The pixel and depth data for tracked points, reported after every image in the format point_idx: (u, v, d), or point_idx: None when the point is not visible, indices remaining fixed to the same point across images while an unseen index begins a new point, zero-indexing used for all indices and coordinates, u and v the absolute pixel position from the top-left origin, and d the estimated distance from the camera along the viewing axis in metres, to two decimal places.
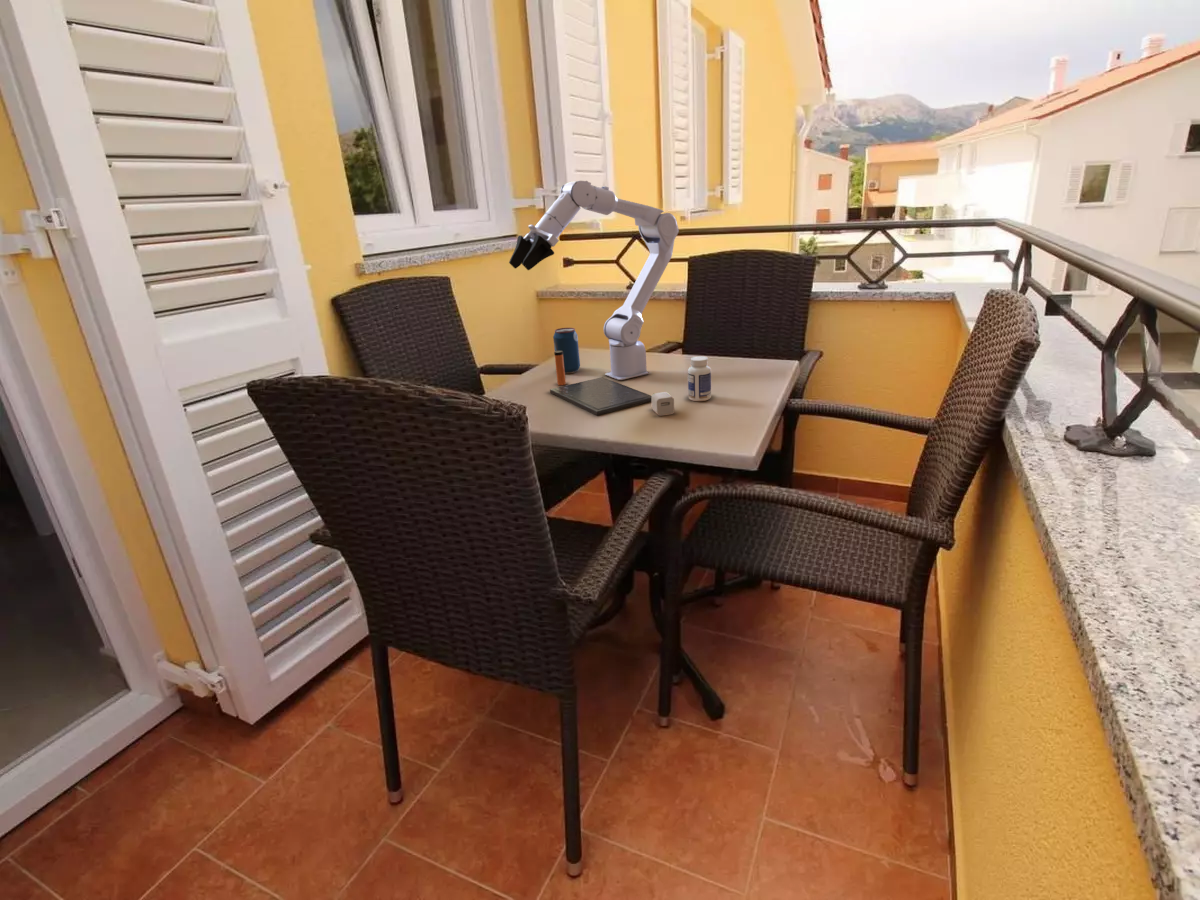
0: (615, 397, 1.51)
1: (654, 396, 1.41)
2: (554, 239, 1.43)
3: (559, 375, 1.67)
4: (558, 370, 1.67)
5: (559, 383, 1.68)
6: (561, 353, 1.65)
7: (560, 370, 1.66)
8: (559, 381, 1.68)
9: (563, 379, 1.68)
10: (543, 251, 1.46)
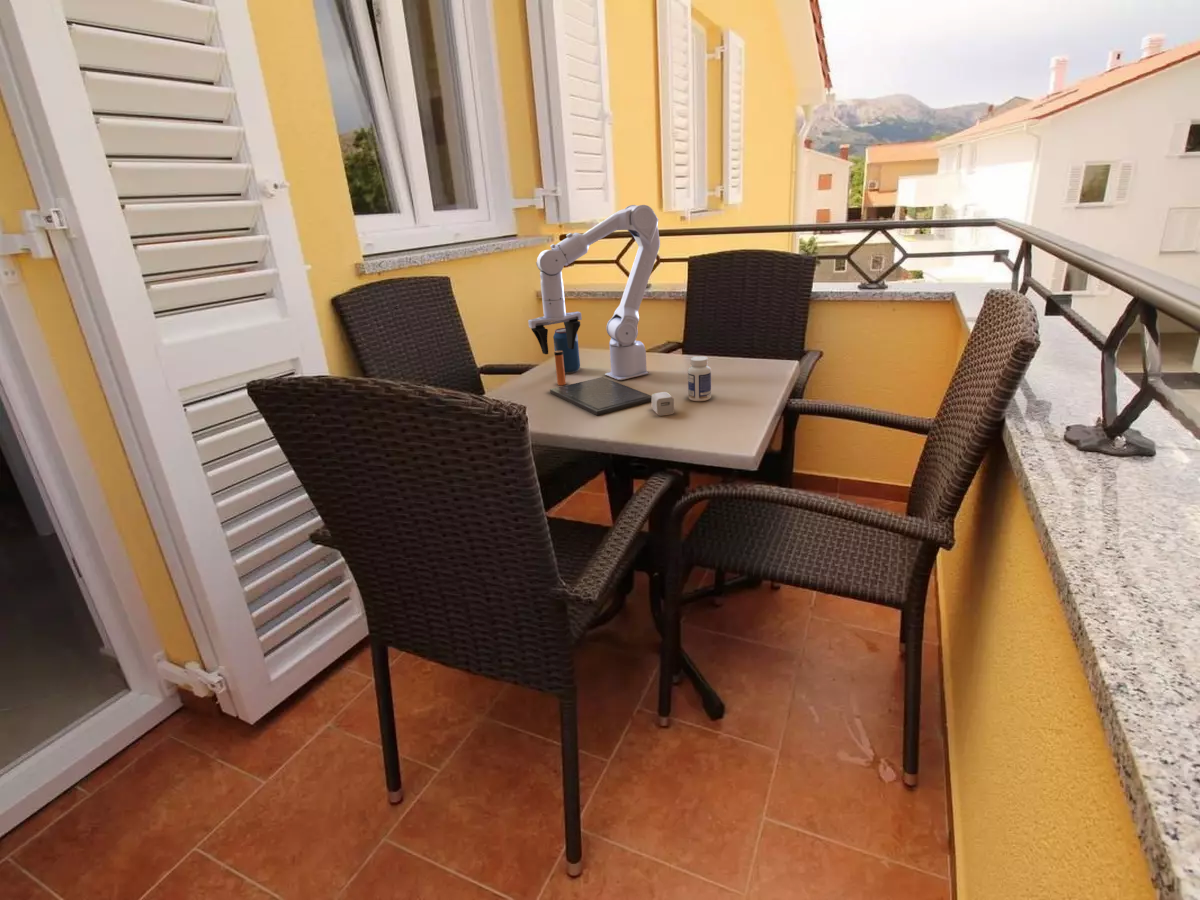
0: (615, 397, 1.51)
1: (654, 396, 1.41)
2: (529, 323, 1.59)
3: (559, 375, 1.67)
4: (558, 370, 1.67)
5: (559, 383, 1.68)
6: (561, 353, 1.65)
7: (560, 370, 1.66)
8: (559, 381, 1.68)
9: (563, 379, 1.68)
10: None
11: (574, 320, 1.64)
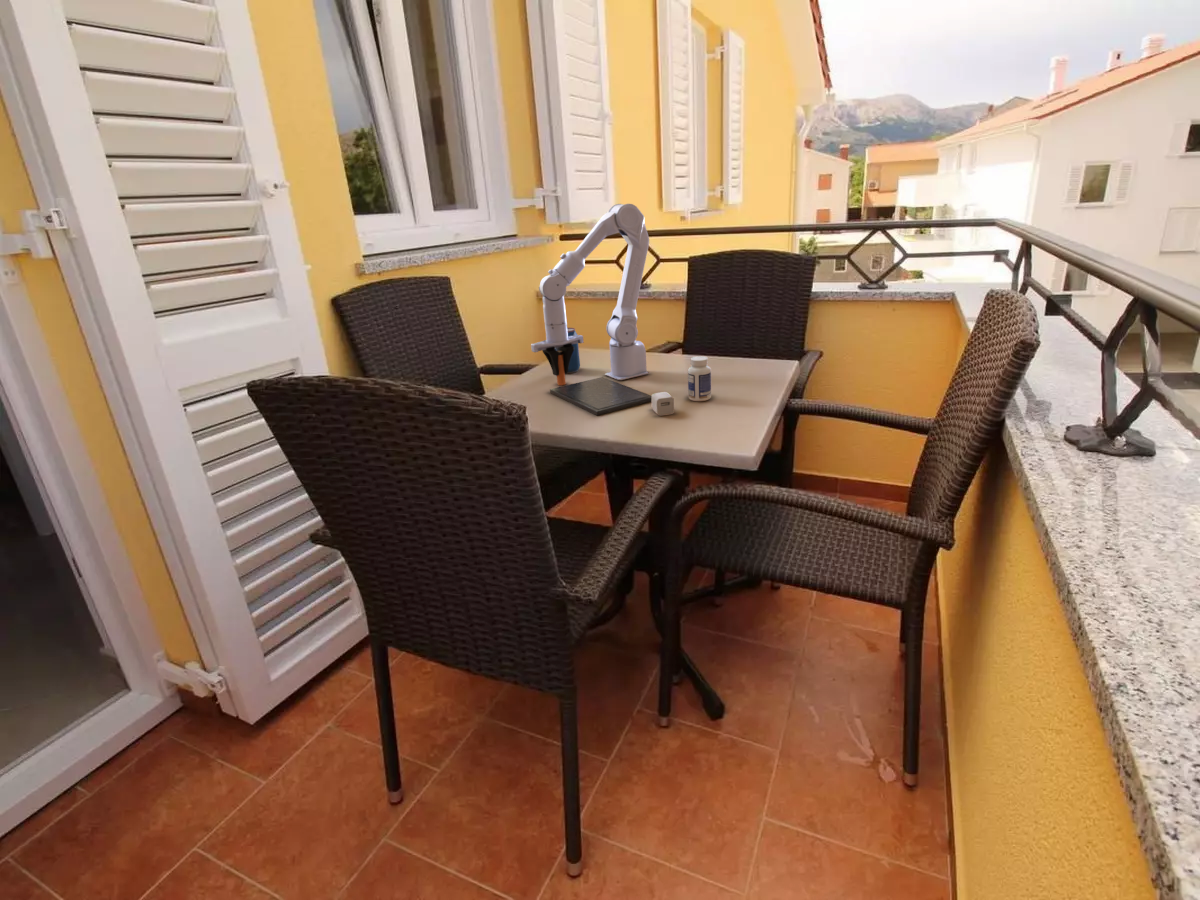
0: (615, 397, 1.51)
1: (654, 396, 1.41)
2: (532, 347, 1.61)
3: (559, 375, 1.67)
4: None
5: (559, 383, 1.68)
6: (561, 353, 1.65)
7: (560, 370, 1.66)
8: (559, 381, 1.68)
9: (563, 379, 1.68)
10: None
11: (576, 343, 1.67)
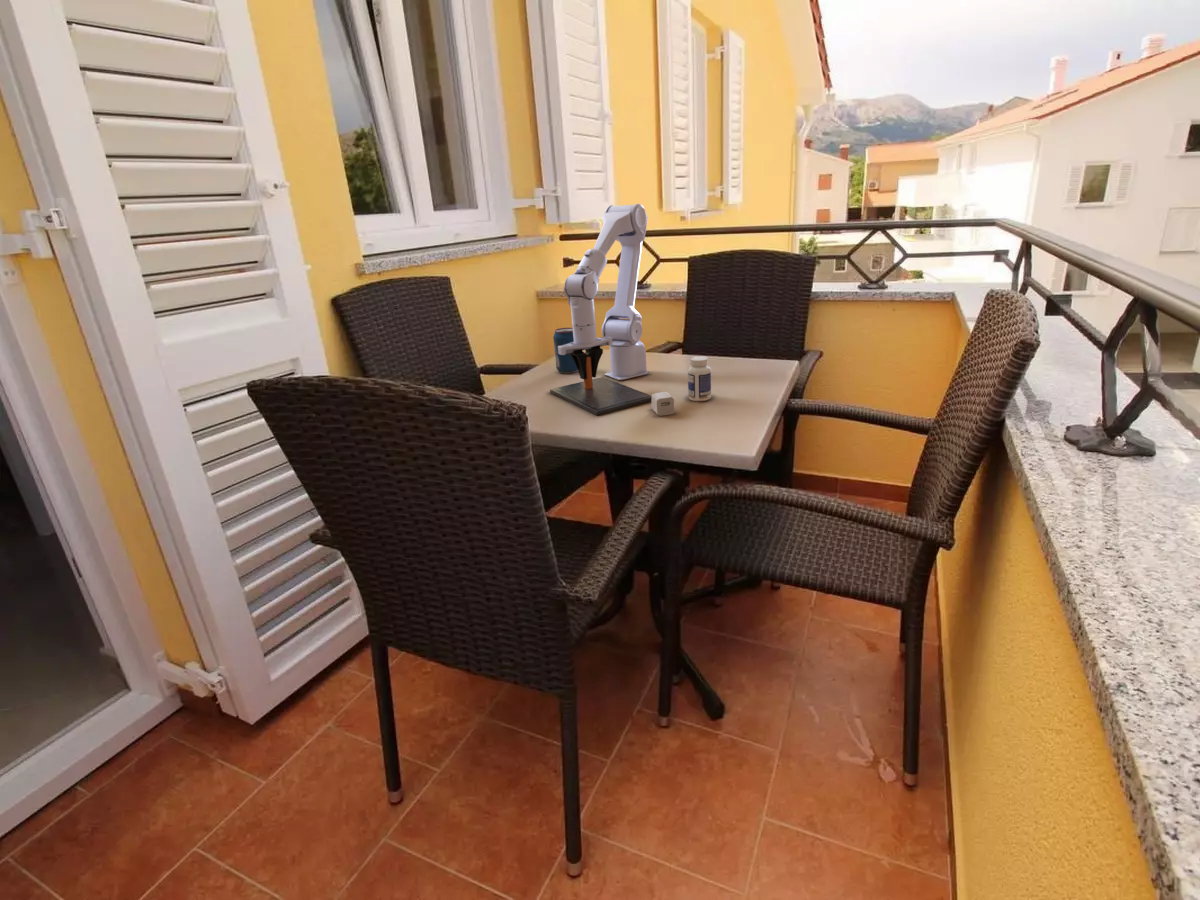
0: (615, 397, 1.51)
1: (654, 396, 1.41)
2: (559, 349, 1.53)
3: None
4: None
5: (586, 386, 1.59)
6: (589, 355, 1.56)
7: (587, 373, 1.58)
8: (586, 384, 1.59)
9: (590, 382, 1.59)
10: None
11: (605, 345, 1.58)
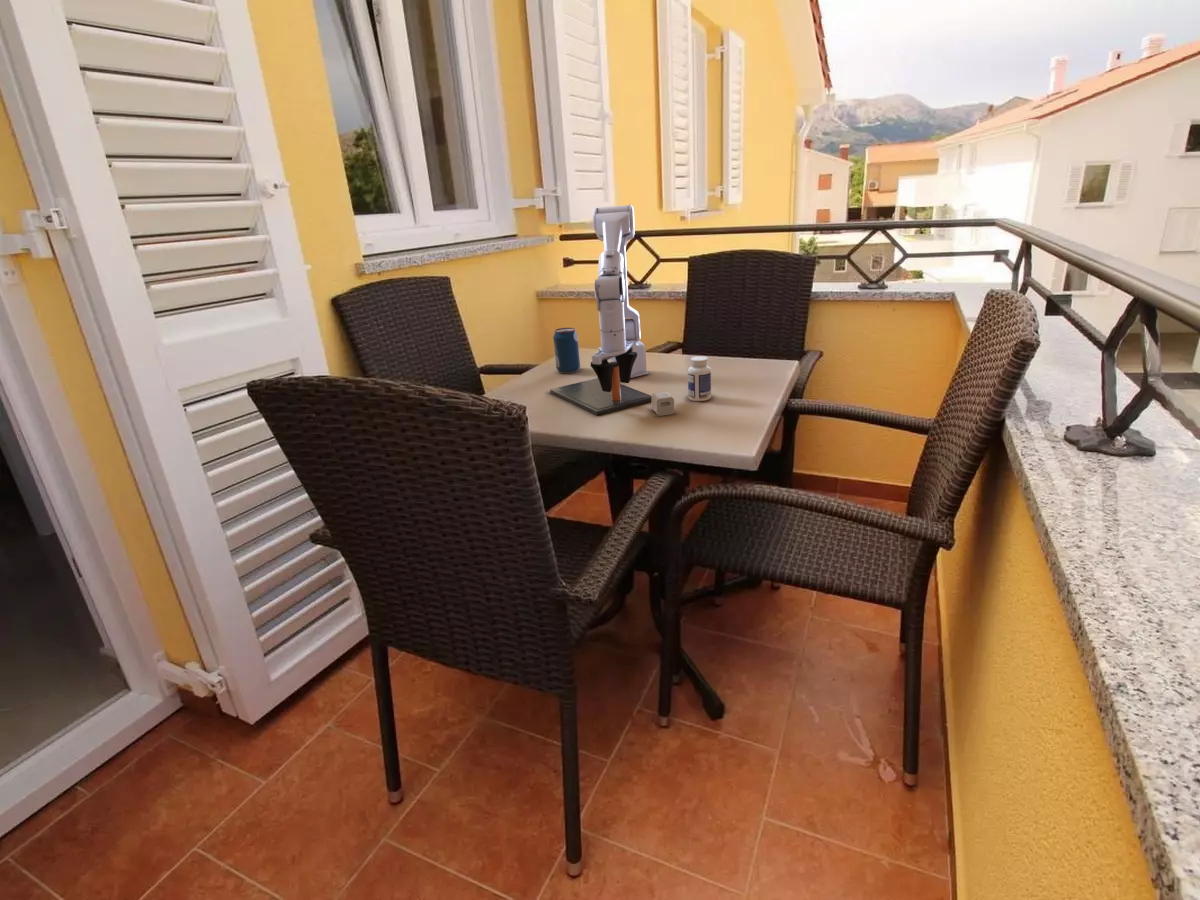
0: None
1: (654, 396, 1.41)
2: (595, 358, 1.40)
3: (616, 389, 1.47)
4: (615, 384, 1.47)
5: (615, 398, 1.48)
6: (618, 364, 1.46)
7: (617, 383, 1.47)
8: (616, 396, 1.48)
9: (619, 393, 1.48)
10: None
11: (629, 351, 1.49)
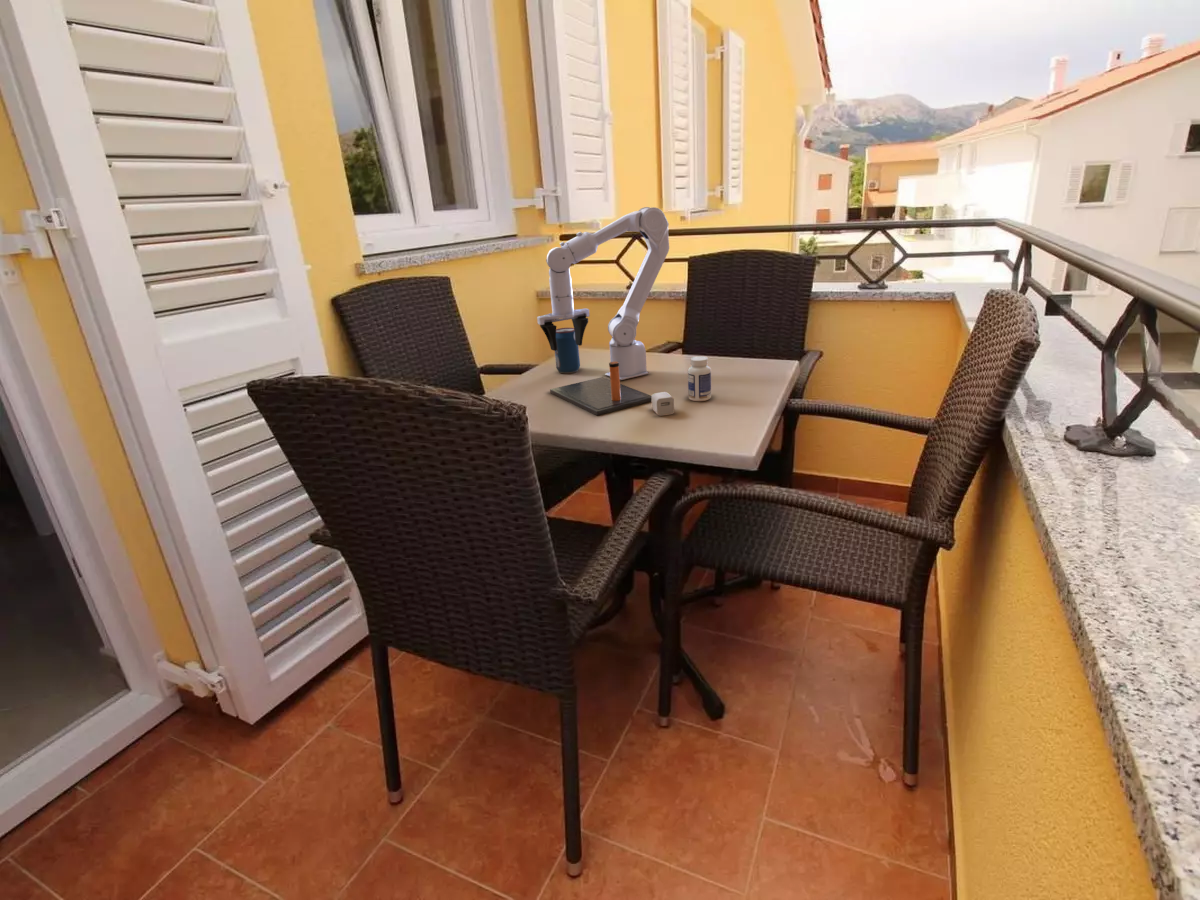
0: None
1: (654, 396, 1.41)
2: None
3: (616, 389, 1.47)
4: (615, 384, 1.47)
5: (615, 398, 1.48)
6: (618, 364, 1.46)
7: (617, 383, 1.47)
8: (616, 396, 1.48)
9: (619, 393, 1.48)
10: None
11: None
